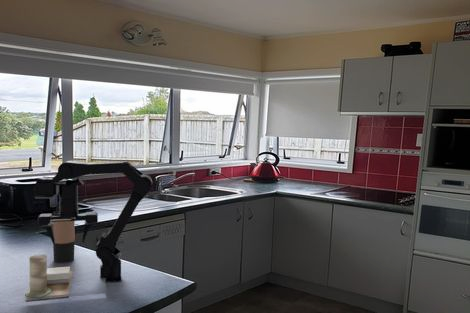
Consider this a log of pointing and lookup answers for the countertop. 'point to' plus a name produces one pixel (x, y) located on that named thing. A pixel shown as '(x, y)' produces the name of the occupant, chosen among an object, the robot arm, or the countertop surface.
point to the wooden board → (52, 291)
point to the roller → (38, 274)
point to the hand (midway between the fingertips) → (68, 243)
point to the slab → (58, 275)
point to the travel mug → (63, 240)
